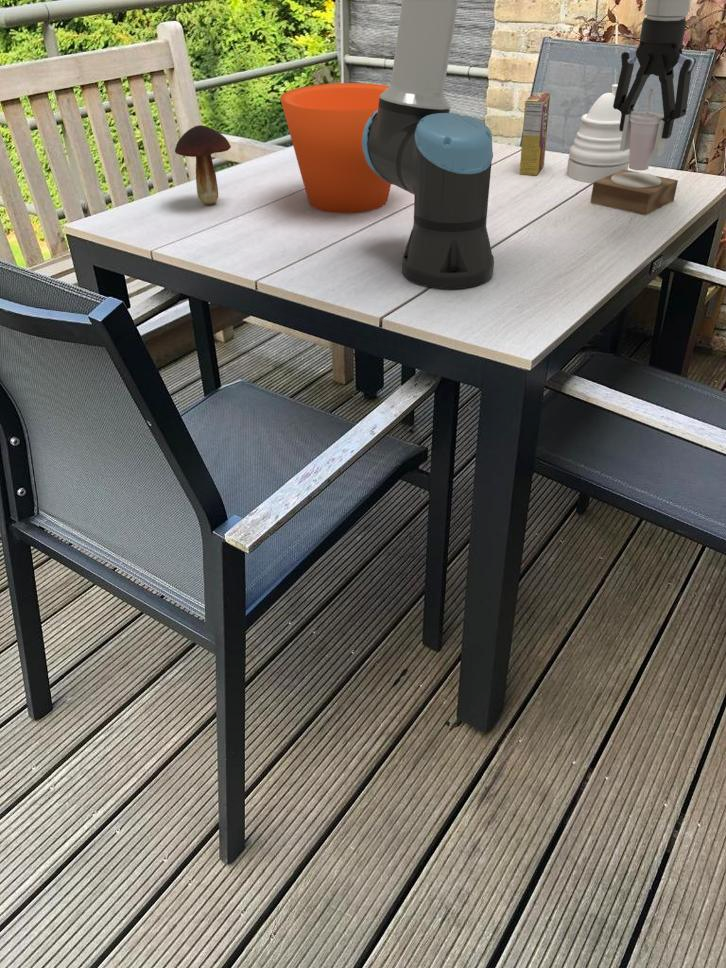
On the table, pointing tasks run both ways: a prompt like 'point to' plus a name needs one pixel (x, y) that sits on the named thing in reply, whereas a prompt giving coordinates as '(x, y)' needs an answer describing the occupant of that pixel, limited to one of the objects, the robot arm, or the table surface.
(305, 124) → the flowerpot
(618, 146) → the honey pot
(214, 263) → the table surface
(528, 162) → the candy box
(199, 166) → the decorative mushroom
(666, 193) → the pedestal
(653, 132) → the smoothie
